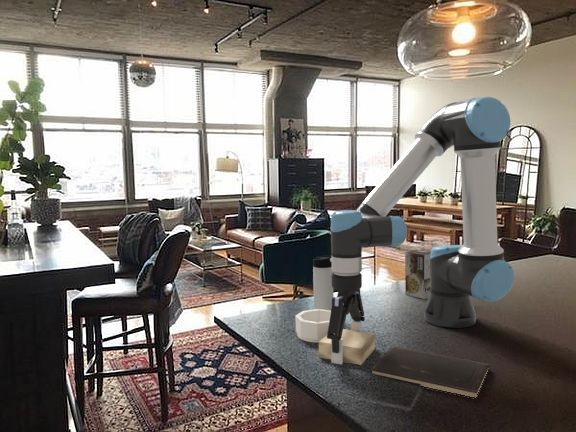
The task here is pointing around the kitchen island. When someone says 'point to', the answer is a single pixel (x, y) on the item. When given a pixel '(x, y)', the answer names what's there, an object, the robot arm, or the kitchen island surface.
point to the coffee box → (417, 273)
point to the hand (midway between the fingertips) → (347, 354)
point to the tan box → (350, 346)
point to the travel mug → (322, 282)
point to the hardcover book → (433, 370)
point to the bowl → (312, 324)
